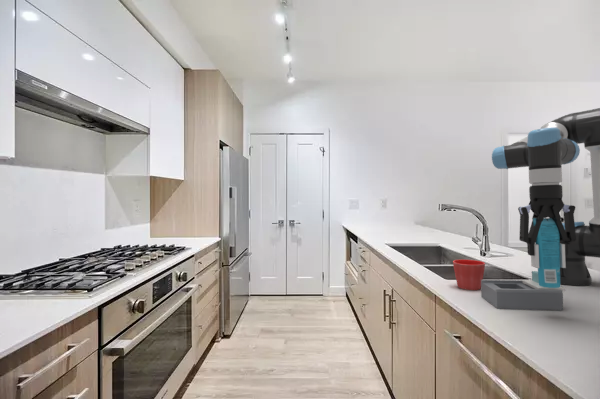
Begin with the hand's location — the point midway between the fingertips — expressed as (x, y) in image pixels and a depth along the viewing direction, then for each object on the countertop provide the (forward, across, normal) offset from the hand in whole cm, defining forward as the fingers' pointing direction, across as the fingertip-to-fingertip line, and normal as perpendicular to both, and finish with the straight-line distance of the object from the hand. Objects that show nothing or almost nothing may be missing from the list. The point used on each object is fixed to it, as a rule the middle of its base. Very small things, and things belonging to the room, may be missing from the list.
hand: (548, 266), depth 96 cm
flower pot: (+14, +12, -30) cm, 36 cm away
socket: (+14, +3, -12) cm, 19 cm away
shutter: (+9, -4, -12) cm, 15 cm away
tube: (+6, 0, 0) cm, 6 cm away
